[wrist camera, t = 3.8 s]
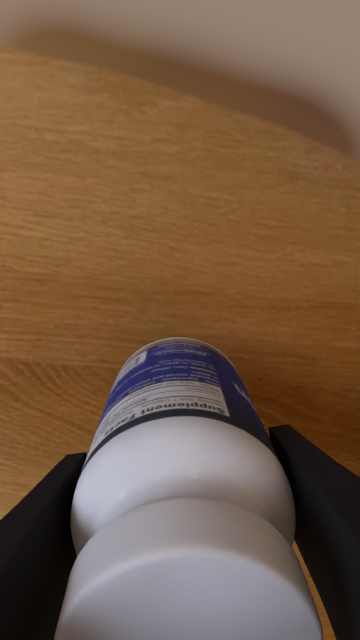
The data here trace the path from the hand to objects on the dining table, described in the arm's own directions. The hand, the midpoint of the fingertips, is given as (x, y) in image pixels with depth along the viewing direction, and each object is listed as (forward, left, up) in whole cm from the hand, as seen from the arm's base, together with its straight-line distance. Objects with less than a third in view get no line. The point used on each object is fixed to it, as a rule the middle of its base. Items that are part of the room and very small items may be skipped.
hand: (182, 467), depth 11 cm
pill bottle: (0, 0, -5) cm, 5 cm away
